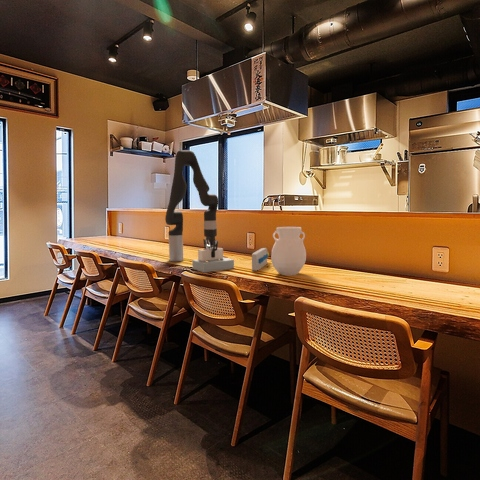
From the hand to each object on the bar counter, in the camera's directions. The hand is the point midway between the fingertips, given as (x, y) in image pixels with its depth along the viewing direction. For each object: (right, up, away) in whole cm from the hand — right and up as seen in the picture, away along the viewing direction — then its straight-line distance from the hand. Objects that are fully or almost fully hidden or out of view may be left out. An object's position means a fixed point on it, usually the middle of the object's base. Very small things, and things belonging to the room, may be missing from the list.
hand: (210, 256), depth 204 cm
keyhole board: (+1, -7, -1) cm, 7 cm away
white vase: (+43, -8, -19) cm, 48 cm away
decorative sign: (+30, -6, +4) cm, 31 cm away
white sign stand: (0, -5, +1) cm, 5 cm away
